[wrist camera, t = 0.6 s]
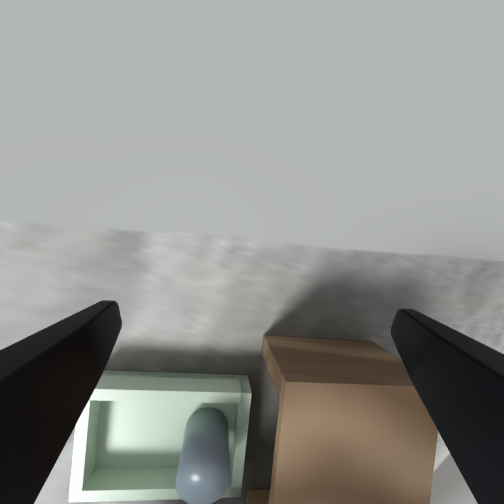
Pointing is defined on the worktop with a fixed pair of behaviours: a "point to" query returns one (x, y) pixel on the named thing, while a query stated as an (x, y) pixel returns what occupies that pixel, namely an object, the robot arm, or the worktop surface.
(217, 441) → the grey smooth round-ended part
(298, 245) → the worktop surface
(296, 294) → the worktop surface
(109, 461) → the tray
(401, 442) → the shelf
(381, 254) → the worktop surface
